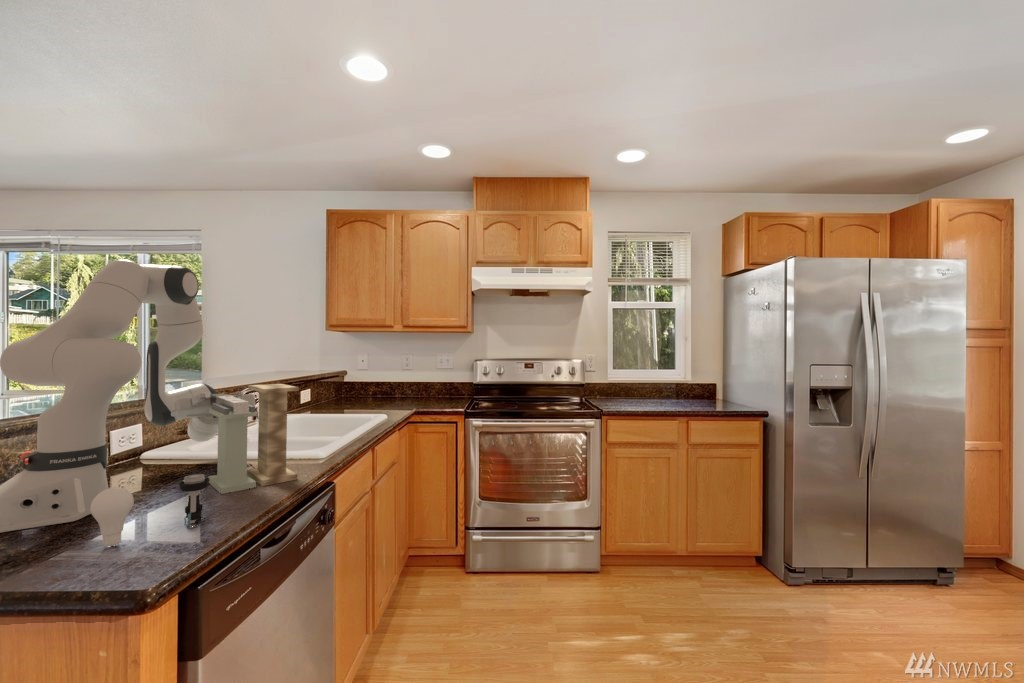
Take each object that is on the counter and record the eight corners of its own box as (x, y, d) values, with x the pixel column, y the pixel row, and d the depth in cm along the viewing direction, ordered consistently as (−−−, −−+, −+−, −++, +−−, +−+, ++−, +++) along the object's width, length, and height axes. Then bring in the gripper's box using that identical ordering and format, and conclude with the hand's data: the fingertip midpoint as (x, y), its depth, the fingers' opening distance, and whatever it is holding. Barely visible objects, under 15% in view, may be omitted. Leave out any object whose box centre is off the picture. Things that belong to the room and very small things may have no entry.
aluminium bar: (233, 414, 115) (233, 402, 115) (210, 404, 133) (210, 394, 133) (248, 413, 117) (249, 401, 117) (223, 403, 135) (224, 393, 135)
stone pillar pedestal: (262, 486, 121) (263, 389, 121) (246, 474, 131) (248, 385, 131) (297, 479, 127) (298, 387, 127) (279, 469, 137) (281, 383, 137)
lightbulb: (114, 538, 88) (115, 482, 88) (141, 540, 87) (142, 483, 87) (80, 552, 82) (81, 492, 82) (109, 555, 81) (110, 494, 81)
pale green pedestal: (221, 494, 114) (222, 409, 114) (208, 481, 124) (209, 403, 124) (256, 487, 120) (257, 406, 120) (240, 476, 130) (242, 401, 130)
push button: (207, 527, 93) (208, 479, 94) (175, 533, 91) (176, 483, 91) (209, 517, 99) (210, 471, 99) (179, 521, 96) (180, 474, 97)
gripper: (168, 407, 133) (176, 386, 124) (246, 401, 147) (258, 382, 139) (170, 427, 130) (178, 407, 122) (249, 419, 145) (261, 401, 137)
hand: (221, 394), depth 130 cm, fingers open, 8 cm apart
